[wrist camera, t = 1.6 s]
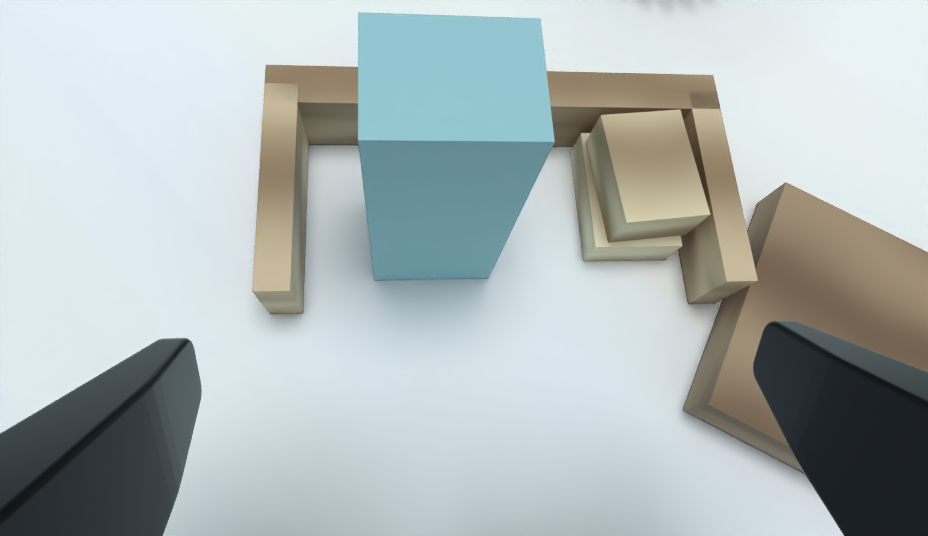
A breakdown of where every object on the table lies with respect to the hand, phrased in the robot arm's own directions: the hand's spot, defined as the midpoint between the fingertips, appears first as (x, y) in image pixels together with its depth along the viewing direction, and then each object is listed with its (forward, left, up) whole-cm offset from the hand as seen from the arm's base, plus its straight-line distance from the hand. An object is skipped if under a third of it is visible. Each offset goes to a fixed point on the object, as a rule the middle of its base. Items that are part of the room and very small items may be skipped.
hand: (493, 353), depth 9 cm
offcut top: (+11, -4, -12) cm, 16 cm away
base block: (+8, -14, -13) cm, 21 cm away
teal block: (+6, +3, -13) cm, 15 cm away
